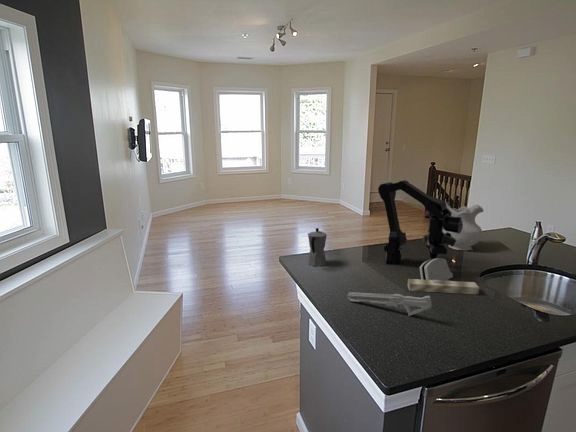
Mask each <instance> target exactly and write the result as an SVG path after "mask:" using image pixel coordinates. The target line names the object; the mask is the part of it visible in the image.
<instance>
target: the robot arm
mask: <svg viewBox="0 0 576 432" xmlns="http://www.w3.org/2000/svg"><path fill="white" fill-rule="evenodd" d="M377 191H378V194H379V197H380V199H381V200H382V201H383V202H384V203H383V204H384V207H385V212H386V213H385V214H386V218H387V222H388V228H389V235H388V243H387V244H386V245H385V246H383V250H384V252H385V259H384V260H385V264H386V265H398V266H399V265H401V263H402V253H401V250H402V249H403V247H405V245H406V244H407V241H408V238H407V236H406V235H407V234H406V231H405V232H403V231H402V230H401V227H400V221H399V217H398V210H397V207H396V201H395V199H396V197H397V196H396V195H397V191H403V192H404V193H405V194H407V196H408V195H409V196H410V197H411V198H413V199H414V200H416V201H417V202H419V203H420V204H421V205H423V207H424V208H425V210H426V211H428V214H426V215H425V216H424V219H428V220H429V221H428V222H429V223H428V229H427V234H425V235H424V236H422V237H423V238H422V241H423V242H424V243H426V242H427V244H425V248H426V250H427V253H428V256H429V260H430V259H434V258H438V255H447V254H448V248H447V247H446V246H445V245H444V244H446V245H450V246H452V247H453V246H454V244H455V242H456V239H455V238H453V237H451V234H450V233H448V232H446V233H445V234H444V233H443V229H444V230H445V231H449V232H454V233H461V231H462V228H463V223H462V220H461V219H462V218H461V217H454V216H452V213H451V212H450V211H449V210H448V209H447V208H446V207H447V206H446V203H445V202H446V201H444V200H442V199H439V198H438V197H433V196H431V195H429V194H427V193H426V192H424V191H422V190H421V189H420V188H418V187H416V186H415V185H413V184H412V183H410V182H409V181H408V180H407V179H406V180H405V179H404V180H400V181H398V182H394V183H393V182H391V181H389V182H384V183H381V184H380V185H379V186H378V189H377ZM442 213H443V214H442Z"/></svg>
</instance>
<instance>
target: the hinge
mask: <svg viewBox="0 0 576 432" xmlns="http://www.w3.org/2000/svg"><path fill="white" fill-rule="evenodd" d="M419 273H420V279H421V280H448V281H449V280H450V279H452V278H454V274H453V272H452V271H451V270H450V268H449V265H448V261H447V260H446V258H441V257H439V258H438V257H436V258H434V259H430V258H429V259H428V260H426V261H424V262H423V263H421V265H420V266H419Z"/></svg>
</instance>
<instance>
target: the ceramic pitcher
mask: <svg viewBox="0 0 576 432" xmlns="http://www.w3.org/2000/svg"><path fill="white" fill-rule="evenodd" d="M444 202H445V203H446V206H447V207H446V208H447V209H448V211H449V212H450V214H451V216H454V217H461V218H462V219H461V220H462V223H463V228H462V231H461V233H454V232H449V231H445V230H444V229H443V233H444V234H445V233H446V232H448V233H450V234H451V237H453V238H455V239H456V242H455V244H454V246H453V247H452V246H450V245H448V244H447V245H448V248H450V249H452V250H456V251H457V250H458V251H466V252H469V251H468V250H471V251H474V249H473V247H472V246H475V245H476V244H478V242H480V240H481V239H482V236H483V230H482V228H481V226H480V225H478V224H477V222H476V217H477V215H479V214H480V213H484V209H483V207H482V206H480V205H479V204H473V205H472V206H470V207H468V206H465V205H463V206H460V207H458V209H457V208H455V207H452V206H451V205H450V202H449V201H448V202H447V201H444ZM442 214H443V213H442Z"/></svg>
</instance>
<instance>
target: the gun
mask: <svg viewBox="0 0 576 432" xmlns="http://www.w3.org/2000/svg"><path fill="white" fill-rule="evenodd" d="M347 300H349V302H353V303H354V302H355V303H360V302H369V303H371V304H380V305H386V306H387V307H395V308H397V309H403V310H404V309H405V310H406V312H407V314H408V315H407V316H408V317H410V316H412V315H416V314H418V313H422V312H423V311H425V310H431V308H432V297H431V296H430V295H425V296H423V297H418V296H417V297H416V296H410V295H403V294H399V293H392V294H390V293H369V292H354V291H353V292H351V291H349V293H347ZM411 307H417V308H416V309H415V308H414V309H413V310H412V309H411ZM418 307H419V308H418Z"/></svg>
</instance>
